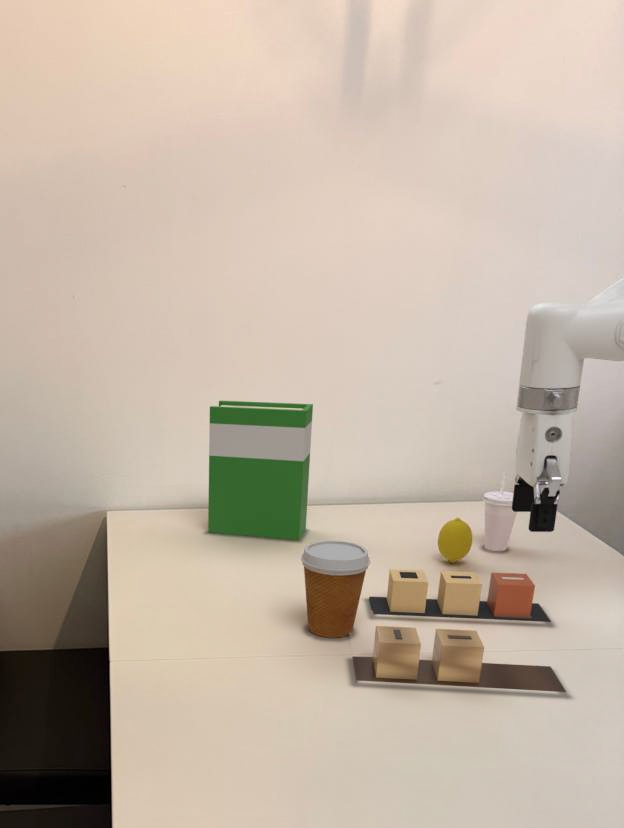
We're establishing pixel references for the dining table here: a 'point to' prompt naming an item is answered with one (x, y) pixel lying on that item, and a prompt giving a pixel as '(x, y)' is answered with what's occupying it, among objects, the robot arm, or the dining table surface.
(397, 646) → the front word
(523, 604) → the block
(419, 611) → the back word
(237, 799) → the dining table surface
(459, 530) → the lemon
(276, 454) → the hardback book
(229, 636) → the dining table surface
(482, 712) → the dining table surface
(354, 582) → the disposable coffee cup
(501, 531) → the smoothie
